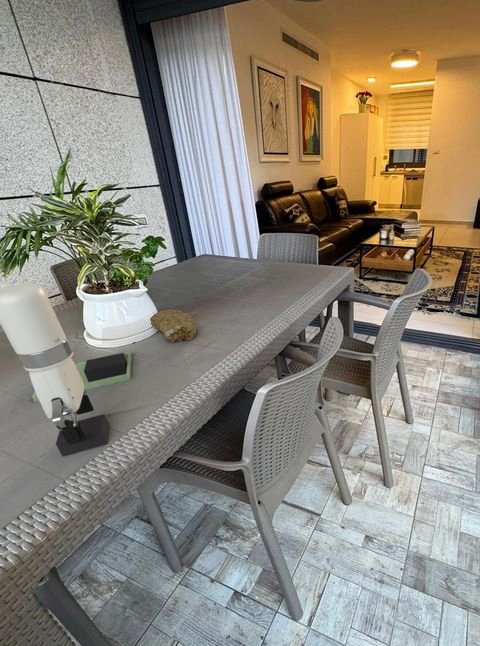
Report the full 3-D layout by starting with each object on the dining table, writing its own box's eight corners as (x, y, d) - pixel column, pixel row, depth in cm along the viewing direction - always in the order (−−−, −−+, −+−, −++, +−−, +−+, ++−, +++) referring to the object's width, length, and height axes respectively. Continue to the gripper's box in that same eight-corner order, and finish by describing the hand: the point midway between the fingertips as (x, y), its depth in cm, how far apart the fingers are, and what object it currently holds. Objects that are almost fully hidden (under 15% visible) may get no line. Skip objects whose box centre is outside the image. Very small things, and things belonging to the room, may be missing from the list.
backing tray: (35, 403, 85) (31, 396, 84) (47, 376, 96) (44, 369, 95) (130, 381, 92) (128, 374, 91) (132, 358, 103) (130, 352, 102)
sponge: (203, 341, 114) (188, 309, 127) (194, 322, 108) (180, 291, 121) (162, 357, 110) (151, 323, 123) (151, 339, 104) (141, 306, 117)
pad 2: (88, 382, 92) (83, 371, 90) (91, 371, 96) (86, 360, 95) (126, 373, 95) (122, 362, 93) (127, 363, 99) (123, 352, 98)
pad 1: (62, 456, 70) (55, 443, 68) (68, 437, 74) (61, 424, 73) (107, 444, 72) (101, 431, 71) (110, 426, 77) (104, 413, 75)
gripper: (34, 338, 69) (68, 407, 77) (4, 383, 55) (51, 462, 63) (77, 330, 71) (106, 397, 80) (60, 371, 57) (98, 448, 66)
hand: (82, 426), depth 71 cm, fingers open, 9 cm apart
